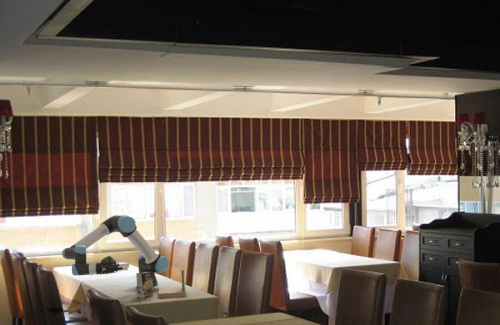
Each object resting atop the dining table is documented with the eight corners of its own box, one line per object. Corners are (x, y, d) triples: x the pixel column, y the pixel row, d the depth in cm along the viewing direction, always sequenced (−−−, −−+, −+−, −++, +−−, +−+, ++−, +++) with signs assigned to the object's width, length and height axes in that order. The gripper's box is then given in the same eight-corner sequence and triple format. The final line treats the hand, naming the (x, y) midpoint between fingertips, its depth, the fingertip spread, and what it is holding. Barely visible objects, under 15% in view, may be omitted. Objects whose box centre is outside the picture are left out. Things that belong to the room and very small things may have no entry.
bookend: (182, 287, 491) (181, 267, 492) (184, 287, 491) (183, 266, 492) (182, 291, 475) (181, 270, 476) (184, 291, 476) (183, 269, 476)
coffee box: (143, 298, 475) (142, 273, 475) (137, 297, 479) (135, 273, 479) (153, 295, 482) (152, 271, 482) (147, 295, 486) (146, 271, 486)
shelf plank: (159, 293, 492) (158, 288, 492) (185, 291, 494) (185, 286, 495) (158, 298, 471) (158, 293, 471) (186, 296, 473) (186, 291, 473)
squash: (99, 265, 629) (99, 253, 619) (116, 264, 632) (116, 253, 622) (99, 277, 618) (99, 266, 608) (117, 277, 621) (117, 265, 612)
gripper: (98, 272, 489) (129, 270, 492) (94, 276, 464) (127, 274, 467) (97, 261, 489) (129, 259, 492) (93, 265, 465) (127, 263, 467)
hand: (128, 266), depth 479 cm, fingers open, 13 cm apart
